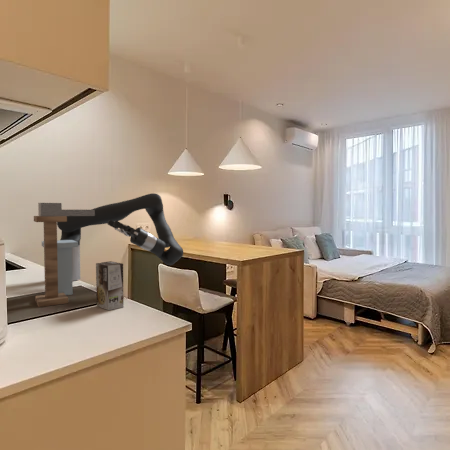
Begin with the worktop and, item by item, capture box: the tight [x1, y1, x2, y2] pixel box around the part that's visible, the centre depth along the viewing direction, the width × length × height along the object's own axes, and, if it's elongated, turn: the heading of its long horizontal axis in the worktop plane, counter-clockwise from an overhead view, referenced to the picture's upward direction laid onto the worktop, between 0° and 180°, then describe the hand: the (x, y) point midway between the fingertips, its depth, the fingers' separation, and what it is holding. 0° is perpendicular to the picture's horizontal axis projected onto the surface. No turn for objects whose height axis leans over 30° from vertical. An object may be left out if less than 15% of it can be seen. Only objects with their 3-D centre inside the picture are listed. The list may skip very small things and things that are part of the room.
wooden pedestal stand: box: [33, 215, 69, 308], centre depth 132 cm, size 10×10×33 cm
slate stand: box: [41, 239, 78, 296], centre depth 145 cm, size 12×12×22 cm
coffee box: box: [95, 260, 125, 311], centre depth 127 cm, size 9×6×16 cm
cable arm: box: [37, 202, 95, 216], centre depth 135 cm, size 7×20×5 cm, turn 124°
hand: (111, 222), depth 146 cm, fingers open, 8 cm apart
